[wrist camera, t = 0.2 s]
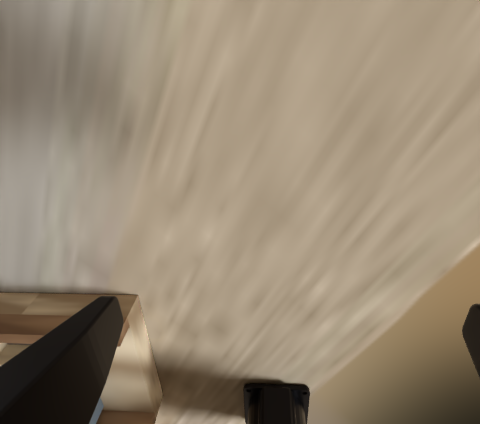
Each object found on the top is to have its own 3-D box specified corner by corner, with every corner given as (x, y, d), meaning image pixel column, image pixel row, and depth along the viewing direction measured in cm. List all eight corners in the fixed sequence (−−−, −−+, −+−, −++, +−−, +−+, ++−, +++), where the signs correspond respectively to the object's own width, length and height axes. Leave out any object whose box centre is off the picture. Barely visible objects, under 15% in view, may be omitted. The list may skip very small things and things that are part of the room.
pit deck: (163, 394, 35) (149, 440, 31) (-12, 386, 37) (-46, 429, 33) (137, 295, 28) (117, 337, 24) (-74, 291, 30) (-126, 330, 26)
